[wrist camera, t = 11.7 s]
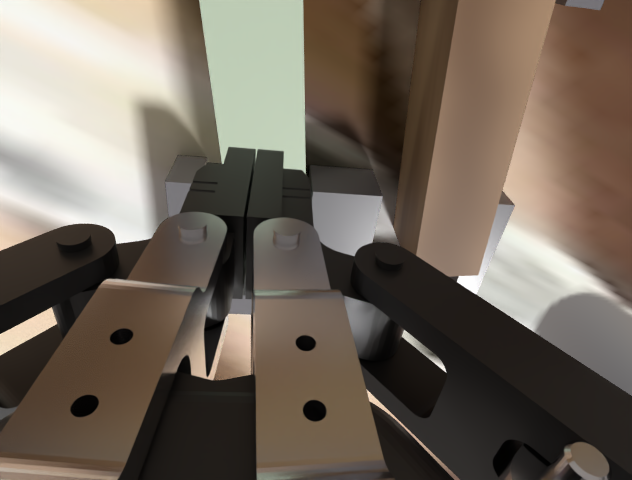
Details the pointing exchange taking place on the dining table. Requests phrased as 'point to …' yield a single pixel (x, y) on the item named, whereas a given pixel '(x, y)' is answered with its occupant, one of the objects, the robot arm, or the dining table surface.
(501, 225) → the frame
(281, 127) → the sage slat
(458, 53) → the walnut slat
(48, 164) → the dining table surface
